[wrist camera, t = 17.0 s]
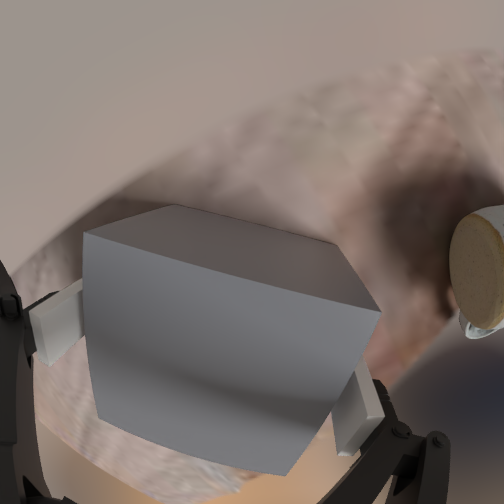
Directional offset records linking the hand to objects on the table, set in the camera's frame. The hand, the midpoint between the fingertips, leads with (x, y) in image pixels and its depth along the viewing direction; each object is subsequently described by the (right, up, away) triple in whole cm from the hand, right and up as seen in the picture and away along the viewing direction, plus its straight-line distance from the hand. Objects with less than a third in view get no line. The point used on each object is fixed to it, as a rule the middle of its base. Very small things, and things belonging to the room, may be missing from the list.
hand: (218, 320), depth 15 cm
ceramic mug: (+19, +3, +1) cm, 19 cm away
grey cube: (+1, +1, +3) cm, 3 cm away
